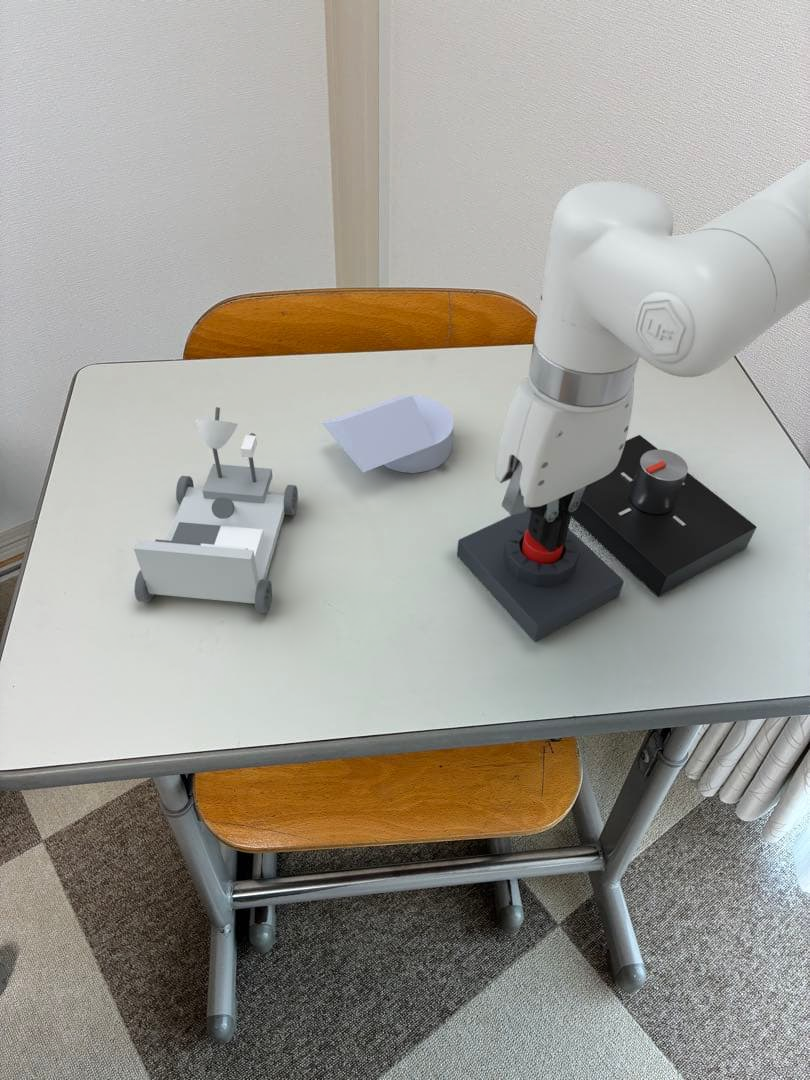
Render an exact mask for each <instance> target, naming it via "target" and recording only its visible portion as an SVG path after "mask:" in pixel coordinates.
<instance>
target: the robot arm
mask: <svg viewBox="0 0 810 1080" xmlns="http://www.w3.org/2000/svg"><path fill="white" fill-rule="evenodd" d="M673 232H674V214H673V212H672V209H671V207H670V205H669V204H668V202H667V201H666V200H665V199H664V198H663V197H662V196H661V195H660V194H658V193H657V192H655V191H653V190H651V189H650V188H647V187H644V186H642V185H639V184H634V183H631V182H630V183H629V182H625V181H616V180H599V181H591V182H586V183H582V184H579V185H578V186H575V187H573V188H572V189H570V190H568V191H567V192H566V193H565V194H564V195H563V196H562V197H561V199H560V200H559V202H558V203H557V205H556V207H555V210H554V213H553V218H552V221H551V228H550V233H549V238H548V239H549V240H548V246H547V251H546V259H545V265H544V270H543V271H544V272H543V278H542V284H541V285H542V286H541V291H540V297H539V304H538V309H537V316H536V323H535V331H534V337H533V342H532V350H531V354H530V355H531V356H530V362H529V368H528V376H527V377H525V378H524V379H522V380H521V381H519V383H518V385H517V388H516V390H515V392H514V394H513V397H512V399H511V402H510V405H509V407H508V411H507V414H506V418H505V421H504V425H503V430H502V433H501V437H500V441H499V442H500V443H499V446H498V451H497V457H496V462H495V470H494V476H495V479H496V480H497V482H499V484H503V483H504V482H505V483H506V482H507V481H509V482H508V483H509V484H508V486H507V489H506V490H505V494H504V497H503V499H502V502H501V507H502V508H503V510H505V511H506V512H507V513H508V514H509V516H511V515H512V516H514V515H518V514H522V513H526V512H527V511H528V510H531V516H530V521H529V527H528V531H529V533H530V535H531V537H532V538H533V539H534V540H535V541H537V542H539V543H540V544H541V545H542V546H543V547H544V548H545V549H546V550H547V551H548V552H551V551H553V550H555V548H556V547H561V546H563V545H564V544H565V540H566V536H567V532H568V528H569V527H570V523H571V518H572V516H571V514H570V512H573V511H575V510H576V509H577V508H578V507H579V505H580V502H581V499H582V497H583V494H584V491H585V490H586V489H587V488H588V487H589V486H590V484H591V483H593V482H595V481H597V480H599V479H601V478H603V477H605V476H607V475H608V474H610V473H611V472H612V471H613V470H614V469H615V468H616V467H617V465H618V462H619V460H620V458H621V455H622V452H623V449H624V445H625V442H626V441H627V437H628V433H629V428H630V423H631V419H632V418H631V417H632V412H633V405H634V404H633V403H634V396H635V395H634V394H635V374H636V370H637V367H638V363H639V359H640V358H641V359H642V360H643V361H645V362H646V363H647V364H648V365H650V366H652V367H653V368H655V369H657V370H659V371H661V372H663V373H666V374H668V375H671V376H675V377H679V378H696V377H701V376H704V375H707V374H709V373H712V372H714V371H716V370H718V369H719V368H721V367H722V366H724V365H725V364H726V363H727V362H729V361H731V359H733V358H735V356H737V355H738V354H739V353H741V352H742V351H743V350H745V348H747V347H748V346H749V345H751V344H752V343H753V342H755V341H756V340H757V339H758V338H759V337H760V336H761V335H763V334H764V333H765V332H767V331H768V330H769V329H770V328H772V327H774V325H775V324H777V323H778V322H779V321H781V320H782V319H783V318H785V317H786V316H788V315H789V314H790V313H792V312H794V311H795V310H796V309H797V308H799V307H800V306H802V305H803V304H805V303H806V302H808V301H810V159H808V160H807V161H805V162H803V163H802V164H801V165H799V166H797V167H796V168H795V169H792V170H791V171H789V172H788V173H787V174H785V175H784V176H782V177H781V178H779V179H778V180H776V181H775V182H773V183H772V184H770V185H768V186H767V187H766V188H764V189H762V190H760V191H759V192H758V193H756V194H754V195H752V196H751V197H749V198H748V199H747V200H744V201H743V202H742V203H739V204H738V205H737V206H735V207H733V208H732V209H730V210H728V211H727V212H724V213H723V214H720V215H719V216H717V217H715V218H714V219H712V220H710V221H709V222H707V223H706V224H704V225H702V226H701V227H699V228H697V229H696V230H694V231H693V232H687V233H683V234H677V235H673ZM569 529H570V528H569Z"/></svg>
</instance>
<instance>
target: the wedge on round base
mask: <svg viewBox="0 0 810 1080" xmlns="http://www.w3.org/2000/svg"><path fill="white" fill-rule="evenodd" d="M321 424H322V426H323V427H324V428H325V429H326V430H327V431H328V433H329V434H330V435H331V436H332V438H334V440H335V441H336V442H337V444H338V445H339V446H340V447H341V448H342V449H343V450H344V452H345V453H346V454H347V455H348V457H349V458H350V459H351V460H352V461H353V462H354V464H355V465H356V466H357V468H359V470H360V471H361V472H362V473H366V472H368V471H370V470H373V469H376V468H378V467H381V466H384V467H386V468H388V469H390V470H392V471H396V472H399V473H400V472H401V473H406V474H407V473H409V474H414V473H415V474H416V473H417V474H418V473H424V472H428V471H431V470H434V469H436V468H438V467H440V466H441V465H443V464H445V462H446V461H447V460H448V459H449V457H450V455H451V453H452V450H453V449H452V448H453V437H454V426H455V420H454V416H453V414H452V412H451V411H450V410H449V408H447V407H446V406H445V405H444V404H442V403H441V402H440V401H437V400H435V399H433V398H430V397H426V396H422V395H414V394H413V395H400V396H395V397H391V398H388V399H385V400H382V401H380V402H376V403H374V404H371V405H368V406H365V407H363V408H360V409H357V410H354V411H351V412H348V413H345V414H342V415H340V416H337V417H334V418H331V419H328V420H325V421H322V422H321Z"/></svg>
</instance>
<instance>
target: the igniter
mask: <svg viewBox="0 0 810 1080" xmlns="http://www.w3.org/2000/svg"><path fill="white" fill-rule="evenodd" d="M530 516H531V510H528V511H527V512H526V513H522V514H518V515H514V516H512V515H509V516H507V517H505V518H503V519H501V520H498V521H496V522H494V523H492V524H490V525H488V526H485V527H483V528H481V529H479V530H477V531H474V532H473V533H470V534H468V535H465V536H464V537H461V538H459V539H458V540H457V550H456V556H457V557H458V558H459V559H460V560H461V562H462V563H463V564H464V565H465V566H466V567H467V568H468V569H469V570H470V571H471V573H472V574H473V575H474V576H475V578H477V579H478V581H479V582H480V583H481V584H482V585H483V586H484V587H485V588H486V590H487V591H488V592H489V593H490V594H491V595H492V596H493V597H494V598H495V599H496V601H497V602H498V603H499V604H500V605H501V606H502V607H503V608H504V609H505V611H506V612H507V613H508V614H509V615H510V616H511V617H512V619H513V620H514V621H515V622H516V623H517V624H518V625H519V627H521V629H522V630H523V631H524V632H525V633H526V634H527V635H528V636H529V637H530V639H531V640H532V641H533V642H538V641H539V640H541V639H543V638H544V637H547V636H548V635H550V634H552V633H554V632H555V631H557V630H559V629H561V628H563V627H565V626H566V625H568V624H570V623H572V622H574V621H576V620H578V619H580V618H581V617H584V616H585V615H587V614H589V613H590V612H593V611H594V610H596V609H598V608H599V607H602V606H603V605H605V604H607V603H608V602H610V601H613V600H614V599H616V598H618V597H619V596H620V594H621V591H622V589H623V586H624V583H625V580H623V578H622V577H621V576H620V575H618V573H617V572H615V571H614V569H612V568H611V567H610V566H609V565H608V564H607V563H606V562H605V561H604V560H603V559H602V558H601V557H600V556H599V555H597V554H596V553H595V552H594V551H593V550H592V549H591V548H590V547H589V546H588V545H587V544H586V543H585V542H584V541H583V540H582V539H580V538H579V537H578V536H577V535H576V534H575V533H574V531H572V530H571V529H570V528H568V532H567V536H566V540H565V544H564V546H563V550H562V554H561V557H560V559H559V560H558V561H557V562H555V563H553V564H539V563H536V562H533V561H531V560H528V559H527V558H526V557H525V556H524V555H523V553H522V545H523V539H524V535H525V532H526V531H527V529H528V527H529V521H530Z"/></svg>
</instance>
